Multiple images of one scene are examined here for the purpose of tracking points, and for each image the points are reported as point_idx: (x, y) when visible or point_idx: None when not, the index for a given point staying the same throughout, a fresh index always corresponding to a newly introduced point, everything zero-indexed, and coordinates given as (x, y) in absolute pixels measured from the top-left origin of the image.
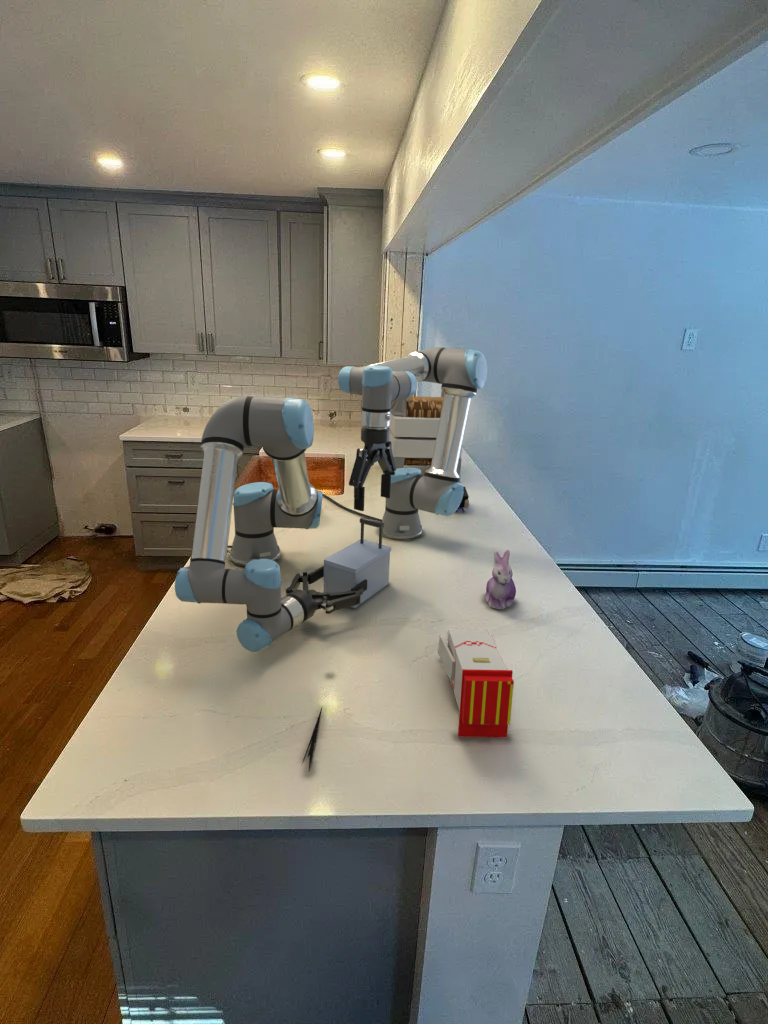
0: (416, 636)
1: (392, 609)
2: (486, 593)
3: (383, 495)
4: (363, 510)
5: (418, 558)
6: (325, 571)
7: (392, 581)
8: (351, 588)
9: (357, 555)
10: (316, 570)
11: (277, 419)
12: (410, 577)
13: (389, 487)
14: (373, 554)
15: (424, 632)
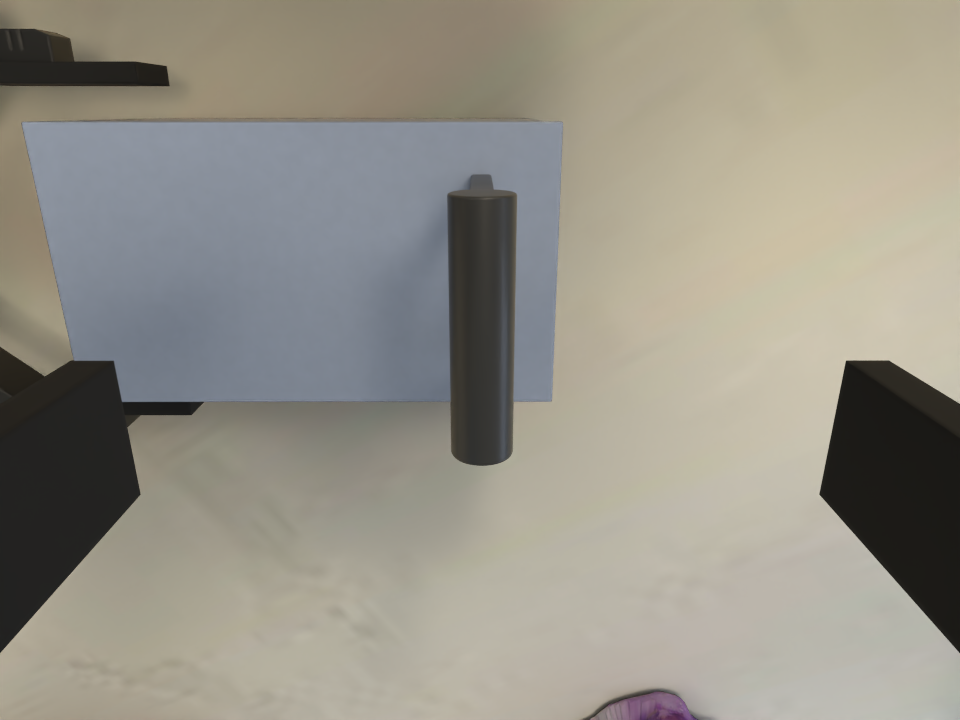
0: (206, 611)
1: (313, 454)
2: (640, 713)
3: (848, 423)
4: (129, 494)
5: (911, 294)
6: None
7: (559, 319)
8: None
9: (264, 290)
10: (46, 69)
11: None
12: (653, 371)
13: (932, 612)
14: (358, 370)
15: (250, 621)
